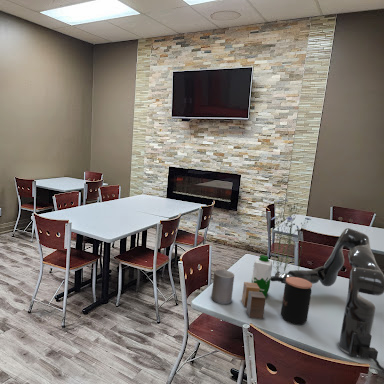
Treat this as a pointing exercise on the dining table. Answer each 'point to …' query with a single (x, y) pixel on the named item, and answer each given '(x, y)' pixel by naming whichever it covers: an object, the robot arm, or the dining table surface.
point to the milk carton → (262, 273)
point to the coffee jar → (296, 300)
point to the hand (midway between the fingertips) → (270, 278)
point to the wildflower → (287, 235)
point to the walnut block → (256, 304)
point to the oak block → (246, 289)
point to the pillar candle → (222, 286)
